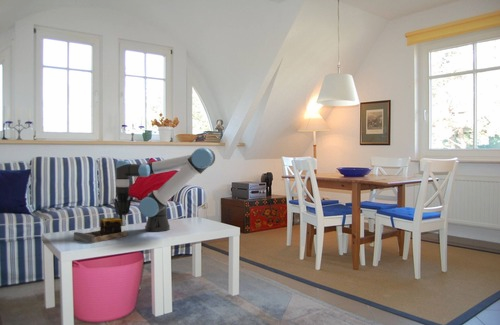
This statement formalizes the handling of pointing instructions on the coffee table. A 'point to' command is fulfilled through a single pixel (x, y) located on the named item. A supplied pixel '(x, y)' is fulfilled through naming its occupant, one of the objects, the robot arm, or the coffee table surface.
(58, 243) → the coffee table surface
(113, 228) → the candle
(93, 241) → the bay
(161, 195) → the robot arm
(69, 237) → the coffee table surface
